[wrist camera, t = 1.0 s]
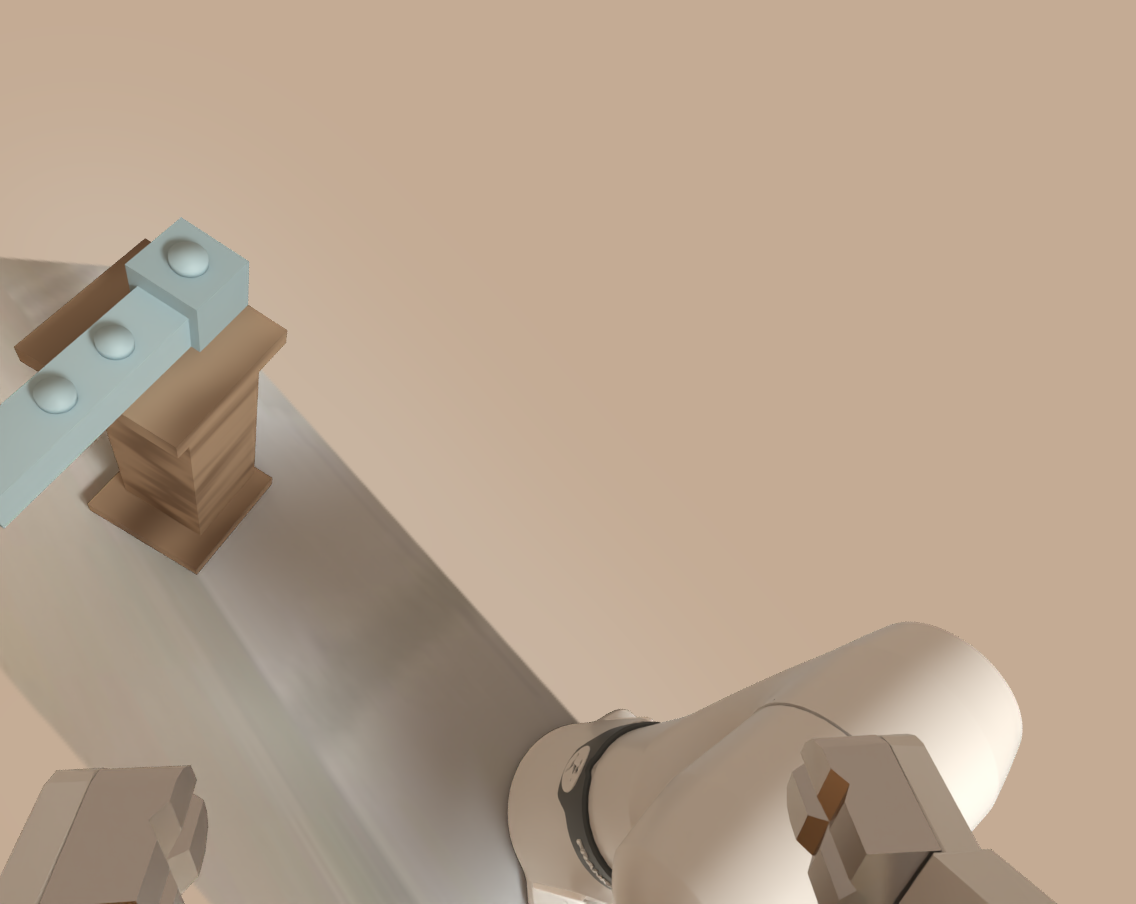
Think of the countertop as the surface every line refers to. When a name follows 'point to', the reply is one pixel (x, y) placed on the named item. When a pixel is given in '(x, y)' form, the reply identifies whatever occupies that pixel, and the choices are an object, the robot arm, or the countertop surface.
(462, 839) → the countertop surface
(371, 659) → the countertop surface
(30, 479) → the beam
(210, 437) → the stand
